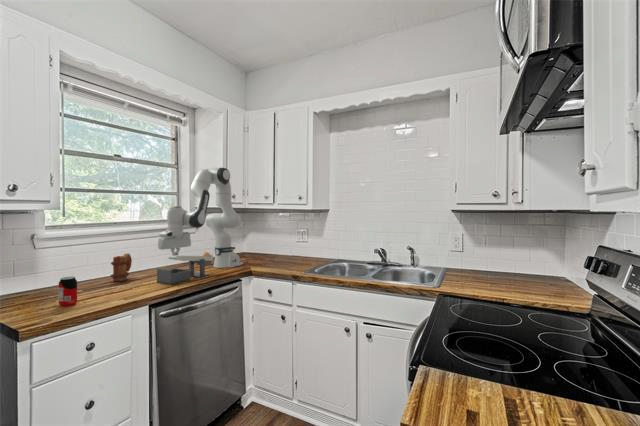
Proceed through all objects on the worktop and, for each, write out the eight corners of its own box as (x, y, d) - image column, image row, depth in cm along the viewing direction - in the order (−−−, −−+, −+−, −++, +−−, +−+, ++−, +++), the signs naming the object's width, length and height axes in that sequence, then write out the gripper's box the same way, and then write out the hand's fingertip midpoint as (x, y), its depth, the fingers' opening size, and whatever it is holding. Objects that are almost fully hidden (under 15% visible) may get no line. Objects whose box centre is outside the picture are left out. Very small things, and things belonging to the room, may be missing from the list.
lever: (197, 263, 210) (198, 253, 211) (213, 265, 202) (214, 255, 203) (167, 263, 191) (168, 253, 192) (183, 266, 183) (184, 254, 184)
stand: (194, 273, 203) (194, 256, 203) (209, 276, 196) (209, 258, 196) (184, 276, 196) (183, 258, 196) (199, 278, 189) (198, 260, 189)
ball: (206, 258, 205) (207, 252, 205) (210, 258, 203) (211, 252, 203) (201, 258, 202) (202, 252, 202) (205, 259, 200) (206, 252, 200)
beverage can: (76, 305, 138) (76, 278, 138) (58, 308, 134) (57, 280, 134) (77, 301, 143) (77, 275, 143) (59, 304, 139) (59, 277, 139)
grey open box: (176, 278, 191) (176, 265, 191) (190, 280, 184) (190, 266, 184) (156, 282, 180) (156, 268, 180) (170, 285, 174) (170, 270, 173)
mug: (121, 282, 180) (121, 256, 180) (107, 282, 180) (107, 256, 180) (137, 276, 194) (136, 252, 194) (124, 276, 195) (123, 252, 194)
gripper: (186, 231, 202) (186, 253, 202) (156, 233, 184) (156, 257, 184) (193, 231, 199) (193, 253, 199) (163, 234, 181) (163, 258, 181)
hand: (175, 255), depth 191 cm, fingers closed
